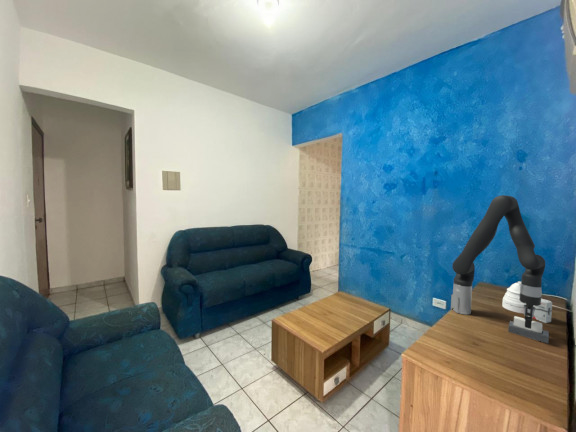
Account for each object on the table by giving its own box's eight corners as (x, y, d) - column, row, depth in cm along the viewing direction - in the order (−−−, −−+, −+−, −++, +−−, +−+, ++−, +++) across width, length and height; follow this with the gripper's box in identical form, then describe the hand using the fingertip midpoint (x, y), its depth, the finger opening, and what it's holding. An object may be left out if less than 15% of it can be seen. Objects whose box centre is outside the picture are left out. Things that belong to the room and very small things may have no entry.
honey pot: (536, 313, 141) (538, 284, 140) (515, 313, 141) (517, 284, 140) (516, 304, 154) (518, 277, 153) (496, 304, 154) (498, 277, 153)
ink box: (526, 316, 138) (527, 296, 137) (531, 314, 139) (533, 295, 139) (546, 323, 130) (547, 302, 129) (551, 322, 131) (552, 301, 131)
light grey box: (513, 330, 121) (514, 318, 121) (513, 328, 124) (514, 315, 123) (541, 339, 114) (542, 325, 114) (541, 336, 116) (542, 323, 116)
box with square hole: (508, 331, 122) (508, 325, 121) (509, 326, 126) (509, 320, 126) (548, 343, 111) (548, 336, 111) (548, 338, 116) (548, 331, 116)
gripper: (541, 300, 110) (538, 333, 111) (541, 292, 119) (539, 322, 120) (518, 295, 115) (516, 326, 116) (520, 288, 125) (518, 317, 126)
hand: (528, 324), depth 118 cm, fingers open, 8 cm apart
